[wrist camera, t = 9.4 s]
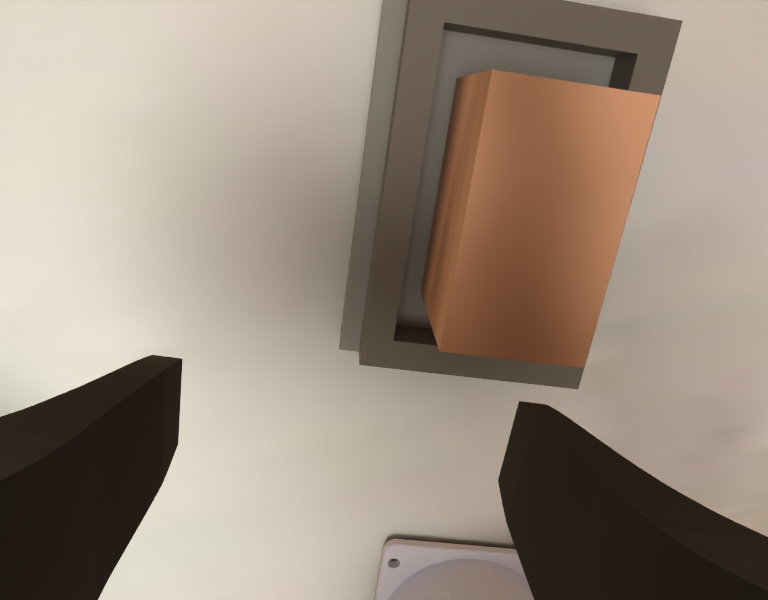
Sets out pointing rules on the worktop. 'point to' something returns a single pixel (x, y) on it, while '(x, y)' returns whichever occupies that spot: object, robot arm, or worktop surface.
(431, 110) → the nest plate
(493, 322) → the terracotta bar
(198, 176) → the worktop surface
